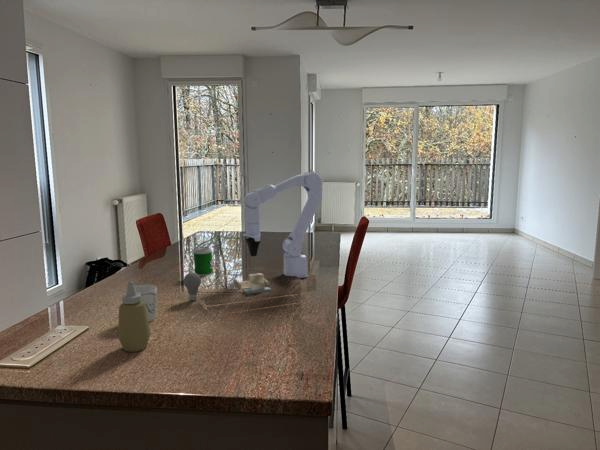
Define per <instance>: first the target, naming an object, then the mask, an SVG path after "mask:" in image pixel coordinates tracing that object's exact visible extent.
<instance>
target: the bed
mask: <svg viewBox="0 0 600 450" xmlns="http://www.w3.org/2000/svg"><path fill="white" fill-rule="evenodd" d="M232 283H233V284H234V285H235V286H236V287H237V289H239V290H245V289H250V288H249V280H241V281H238V280H237V279H236V278H232ZM264 286H265V287H268V286H270V282H269V280H267V279H266V278H265V277H264Z"/></svg>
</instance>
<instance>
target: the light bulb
mask: <svg viewBox="0 0 600 450" xmlns="http://www.w3.org/2000/svg"><path fill="white" fill-rule="evenodd" d="M182 282H183V285H184V286H185V289H186V290H187V294H188V296H189V300H190V301H192V302H194V301H197V299H198V297H197V296H198V290H199V288H200V286H201V283H202V278H201V276H199V275H198V274H197V273H195V271H194V272H188V273H186V275H184V278H183V281H182Z"/></svg>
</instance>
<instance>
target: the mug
mask: <svg viewBox="0 0 600 450" xmlns="http://www.w3.org/2000/svg"><path fill="white" fill-rule="evenodd" d="M134 286H135V289H136V292H137V293H140V294H141V301H143V302H144V303H145V304H146V309H147V315H148V320H149V323H150V322H153V321H154V320H155V319H156V313H157V303H158V287H157V286H156V285H153V284H140V285H139V284H138V285H134Z"/></svg>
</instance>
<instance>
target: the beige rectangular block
mask: <svg viewBox="0 0 600 450" xmlns="http://www.w3.org/2000/svg"><path fill="white" fill-rule="evenodd" d="M264 278H265V274H264V273H261V272H257V273H249V274H248V281H249V288H248V289H250V290H252V291H255V290H263V289H265V287H266V286H264Z"/></svg>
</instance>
